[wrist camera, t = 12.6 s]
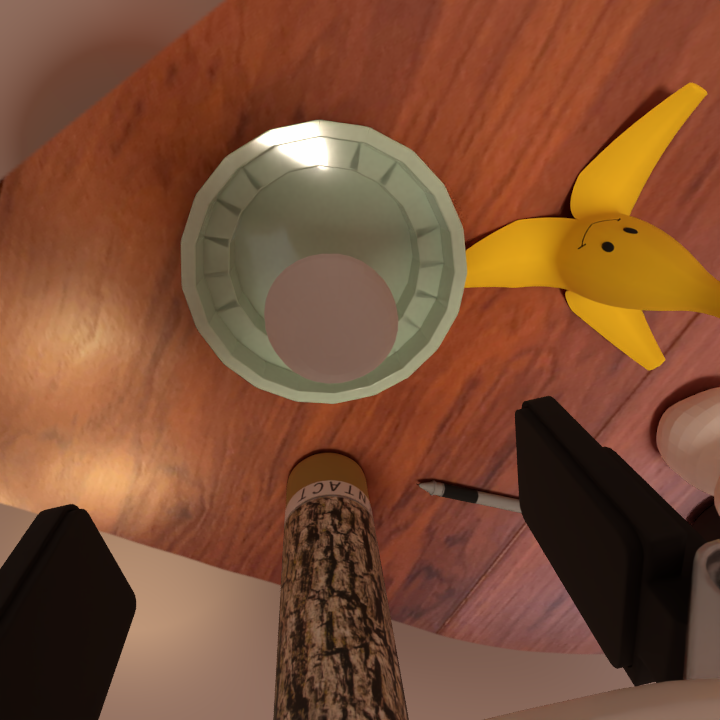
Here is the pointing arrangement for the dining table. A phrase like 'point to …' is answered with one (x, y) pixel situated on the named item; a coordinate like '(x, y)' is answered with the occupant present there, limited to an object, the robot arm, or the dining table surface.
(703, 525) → the mug
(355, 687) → the paper tube
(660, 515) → the robot arm
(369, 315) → the lollipop
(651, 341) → the banana peel
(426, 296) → the bowl
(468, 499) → the pen
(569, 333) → the dining table surface
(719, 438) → the cat figurine
